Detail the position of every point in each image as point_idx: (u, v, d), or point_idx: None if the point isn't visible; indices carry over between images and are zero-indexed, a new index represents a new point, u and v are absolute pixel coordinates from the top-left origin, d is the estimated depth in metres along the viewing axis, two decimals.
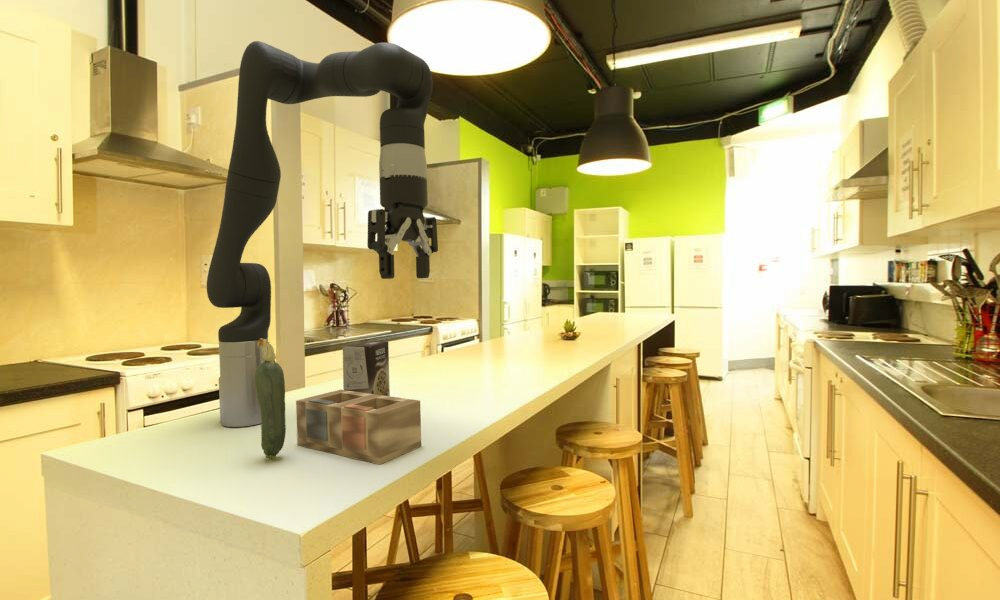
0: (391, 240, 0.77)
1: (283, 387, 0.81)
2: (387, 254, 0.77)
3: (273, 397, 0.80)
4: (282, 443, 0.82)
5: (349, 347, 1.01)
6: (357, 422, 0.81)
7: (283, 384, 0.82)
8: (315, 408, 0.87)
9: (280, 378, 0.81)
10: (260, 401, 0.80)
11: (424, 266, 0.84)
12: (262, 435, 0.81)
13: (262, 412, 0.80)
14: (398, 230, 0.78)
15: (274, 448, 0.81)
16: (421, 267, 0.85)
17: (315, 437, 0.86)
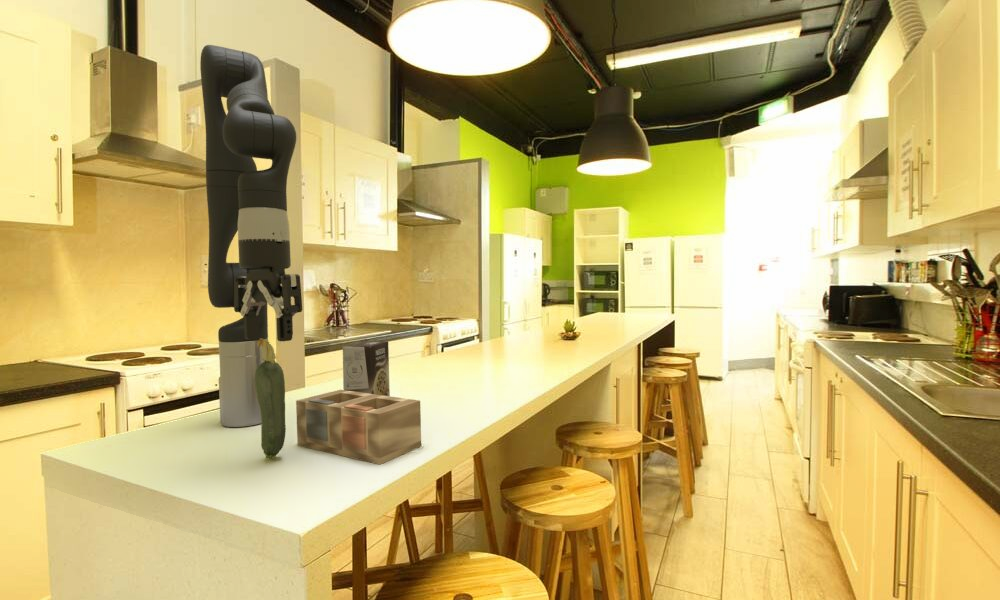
0: None
1: (283, 387, 0.82)
2: None
3: (273, 397, 0.80)
4: (282, 443, 0.82)
5: (349, 347, 1.01)
6: (357, 422, 0.81)
7: (283, 384, 0.82)
8: (315, 408, 0.87)
9: (280, 378, 0.81)
10: (260, 401, 0.80)
11: (256, 326, 0.84)
12: (262, 435, 0.81)
13: (262, 412, 0.80)
14: None
15: (274, 448, 0.81)
16: (253, 327, 0.83)
17: (315, 437, 0.86)
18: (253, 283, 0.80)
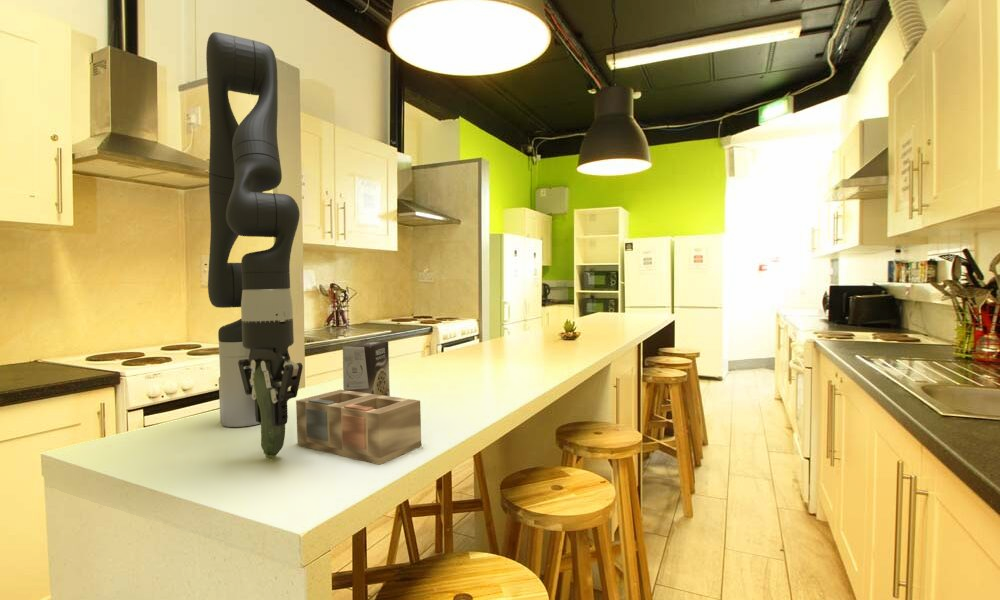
0: None
1: None
2: None
3: None
4: (282, 443, 0.82)
5: (349, 347, 1.01)
6: (357, 422, 0.81)
7: None
8: (315, 408, 0.87)
9: None
10: (259, 401, 0.80)
11: None
12: (262, 435, 0.81)
13: (261, 412, 0.80)
14: None
15: (274, 448, 0.81)
16: None
17: (315, 437, 0.86)
18: (255, 361, 0.80)
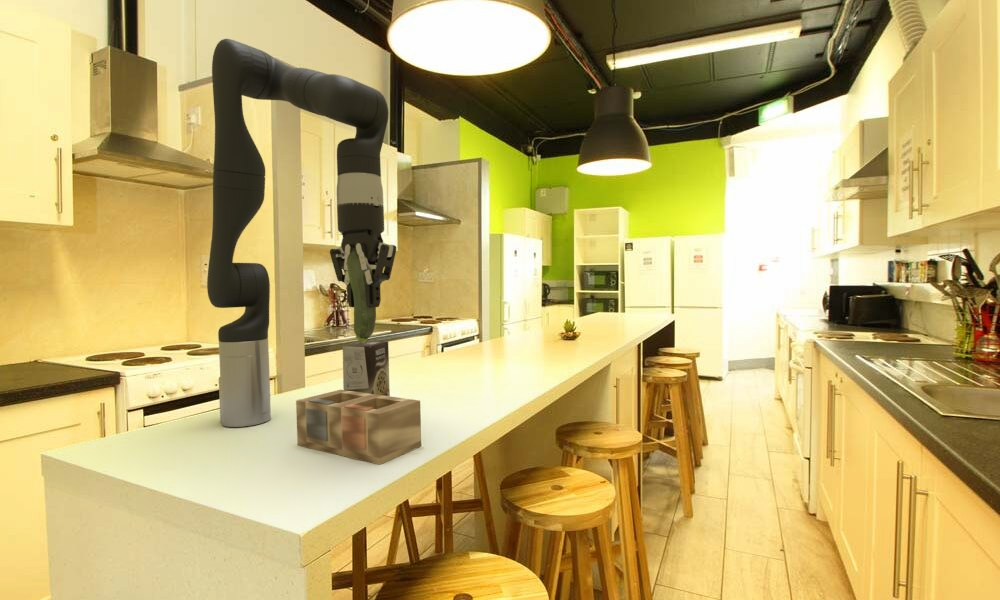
0: None
1: None
2: None
3: None
4: (373, 327, 0.85)
5: (349, 347, 1.01)
6: (357, 422, 0.81)
7: None
8: (315, 408, 0.87)
9: None
10: (353, 283, 0.83)
11: None
12: (355, 318, 0.84)
13: (355, 295, 0.83)
14: None
15: (367, 330, 0.84)
16: None
17: (315, 437, 0.86)
18: (350, 245, 0.83)
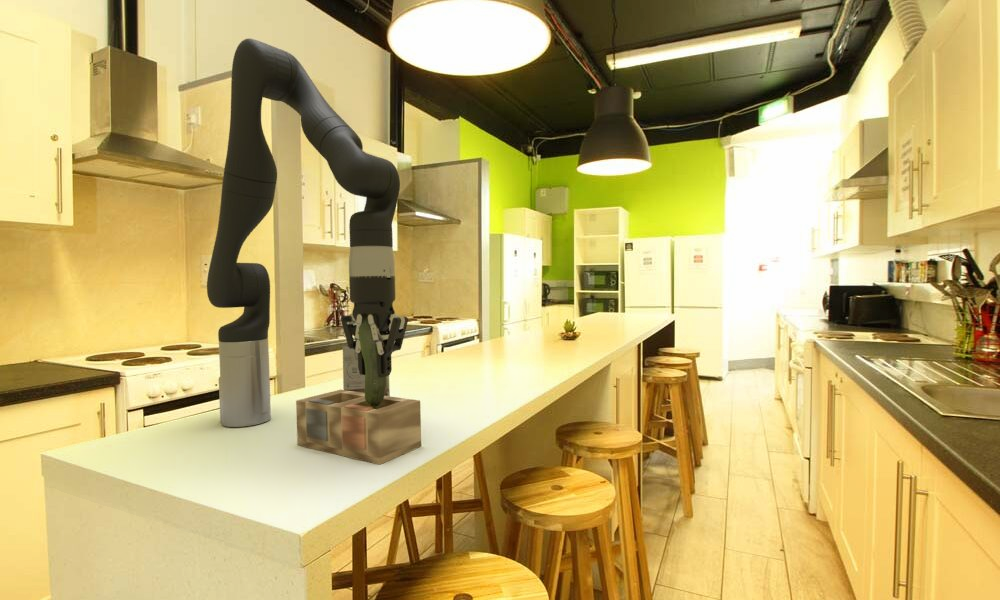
0: None
1: None
2: None
3: (377, 349, 0.84)
4: (384, 394, 0.86)
5: None
6: (357, 422, 0.81)
7: None
8: (315, 408, 0.87)
9: None
10: (365, 353, 0.84)
11: None
12: (366, 386, 0.85)
13: (366, 364, 0.85)
14: None
15: (378, 398, 0.85)
16: None
17: (315, 437, 0.86)
18: (362, 315, 0.84)
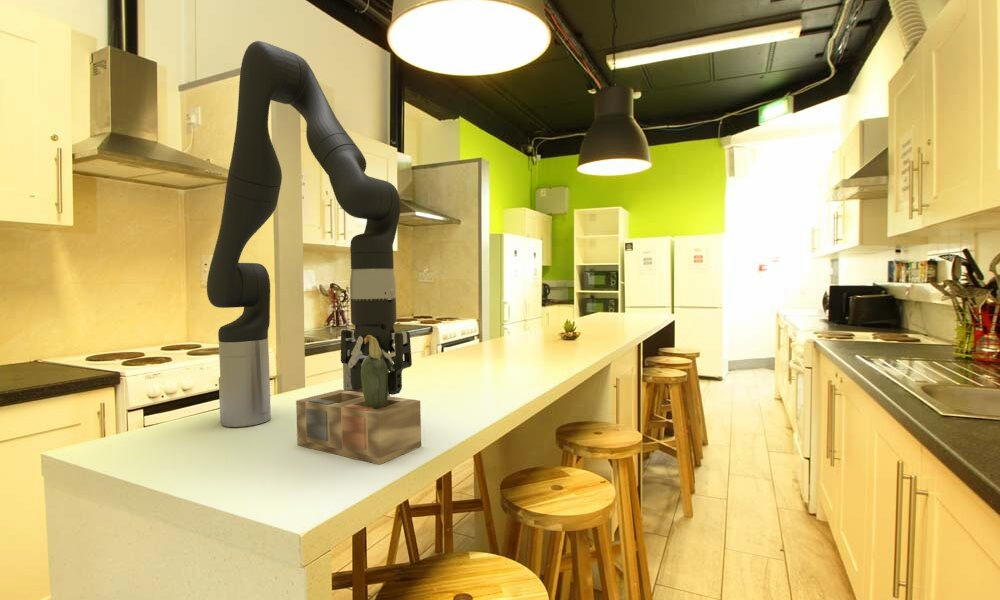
0: None
1: (387, 381, 0.83)
2: None
3: (380, 393, 0.82)
4: None
5: None
6: (357, 422, 0.81)
7: (387, 379, 0.83)
8: (315, 408, 0.87)
9: (386, 375, 0.82)
10: (367, 395, 0.82)
11: None
12: None
13: (367, 404, 0.83)
14: (395, 347, 0.85)
15: None
16: (359, 378, 0.88)
17: (315, 437, 0.86)
18: (363, 338, 0.84)
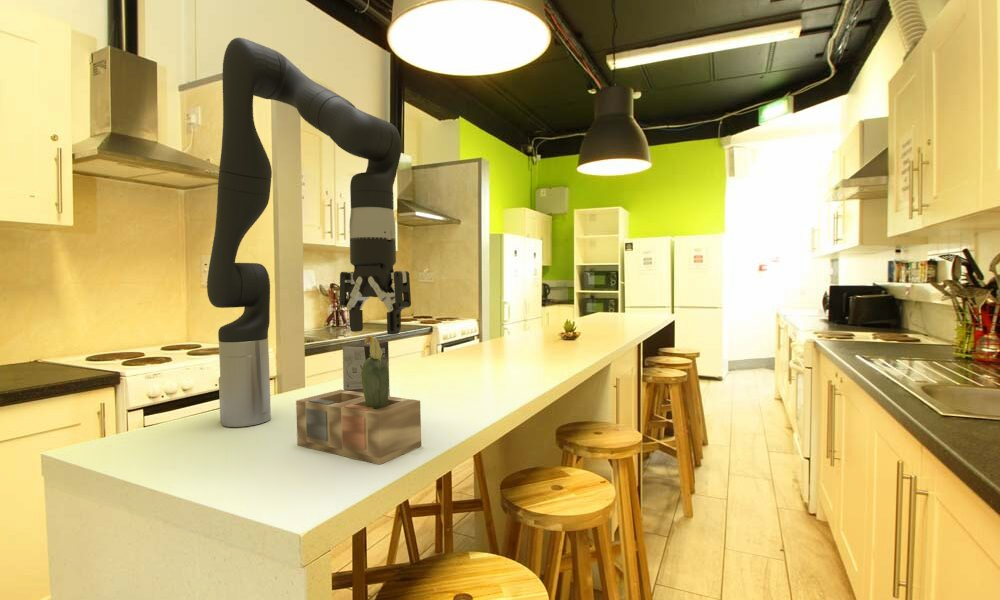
0: None
1: (388, 382, 0.83)
2: None
3: (380, 393, 0.82)
4: None
5: (349, 347, 1.01)
6: (357, 422, 0.81)
7: (388, 379, 0.83)
8: (315, 408, 0.87)
9: (387, 375, 0.82)
10: (367, 395, 0.82)
11: (360, 319, 0.88)
12: None
13: (367, 404, 0.83)
14: (394, 289, 0.85)
15: None
16: (357, 320, 0.88)
17: (315, 437, 0.86)
18: (362, 279, 0.84)
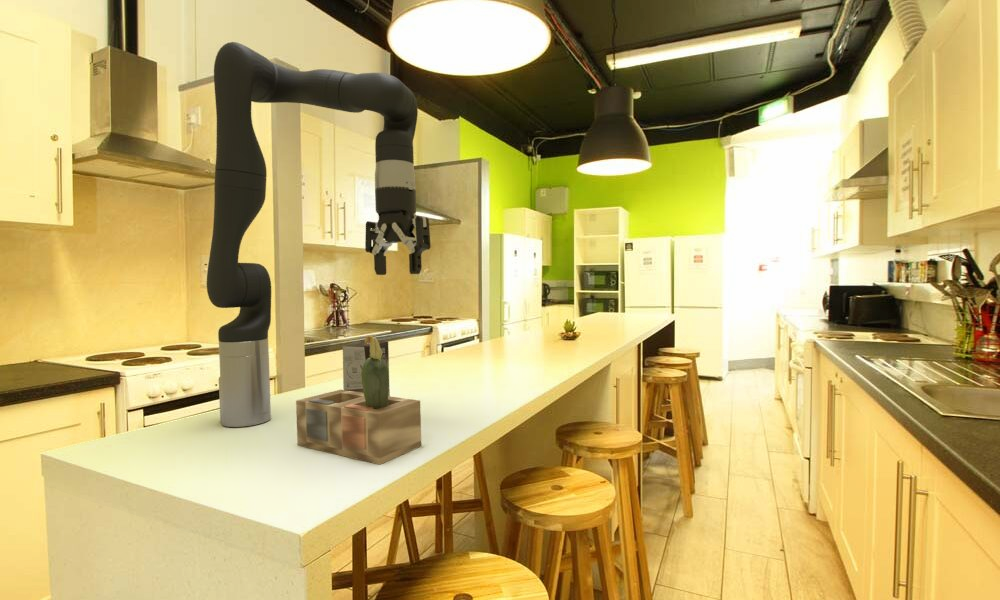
0: None
1: (388, 382, 0.83)
2: None
3: (380, 393, 0.82)
4: None
5: (349, 347, 1.01)
6: (357, 422, 0.81)
7: (388, 379, 0.83)
8: (315, 408, 0.87)
9: (387, 375, 0.82)
10: (367, 395, 0.82)
11: (384, 264, 0.98)
12: None
13: (367, 404, 0.83)
14: None
15: None
16: (382, 265, 0.97)
17: (315, 437, 0.86)
18: (387, 225, 0.94)
